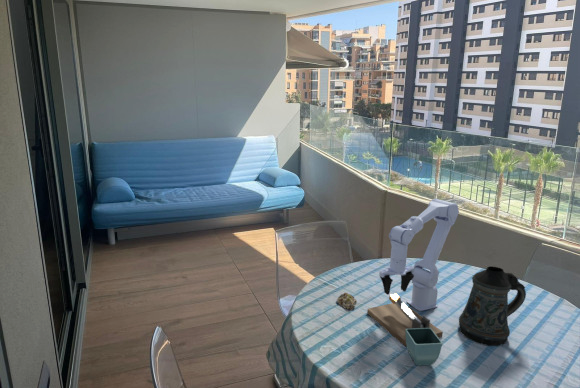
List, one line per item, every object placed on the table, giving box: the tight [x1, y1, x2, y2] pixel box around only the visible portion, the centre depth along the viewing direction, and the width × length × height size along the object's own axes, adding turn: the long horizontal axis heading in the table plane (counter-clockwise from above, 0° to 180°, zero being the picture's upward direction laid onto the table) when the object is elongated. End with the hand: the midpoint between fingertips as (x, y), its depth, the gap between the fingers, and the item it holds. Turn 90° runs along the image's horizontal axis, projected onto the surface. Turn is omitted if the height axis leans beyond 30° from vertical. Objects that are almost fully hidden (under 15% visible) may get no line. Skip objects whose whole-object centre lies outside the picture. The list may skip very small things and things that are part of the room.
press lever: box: [388, 293, 425, 328], centre depth 143 cm, size 3×17×2 cm, turn 23°
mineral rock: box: [336, 292, 358, 311], centre depth 160 cm, size 11×4×8 cm
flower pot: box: [405, 328, 443, 366], centre depth 125 cm, size 9×9×9 cm
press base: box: [366, 302, 444, 348], centre depth 145 cm, size 16×23×7 cm
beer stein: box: [458, 266, 527, 347], centre depth 139 cm, size 16×19×25 cm
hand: (395, 291), depth 149 cm, fingers open, 7 cm apart
